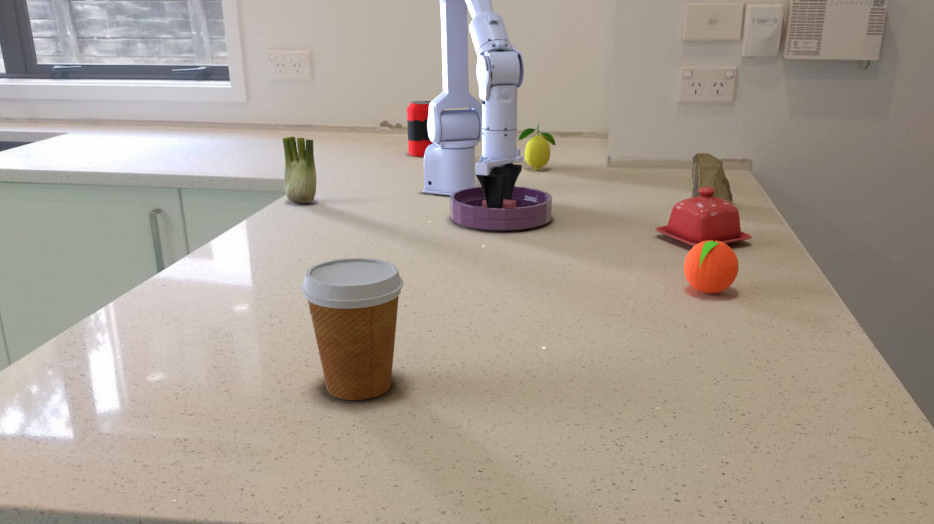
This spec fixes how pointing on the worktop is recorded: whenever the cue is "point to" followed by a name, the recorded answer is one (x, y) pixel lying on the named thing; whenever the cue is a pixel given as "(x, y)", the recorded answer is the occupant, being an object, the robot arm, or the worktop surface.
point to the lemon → (537, 148)
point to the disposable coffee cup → (354, 323)
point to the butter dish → (704, 220)
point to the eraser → (504, 203)
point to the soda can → (418, 128)
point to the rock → (709, 176)
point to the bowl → (501, 210)
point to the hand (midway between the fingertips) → (498, 210)
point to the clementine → (711, 266)
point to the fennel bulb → (299, 170)
